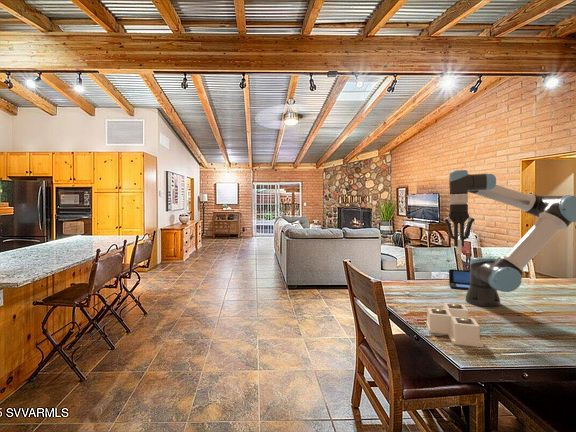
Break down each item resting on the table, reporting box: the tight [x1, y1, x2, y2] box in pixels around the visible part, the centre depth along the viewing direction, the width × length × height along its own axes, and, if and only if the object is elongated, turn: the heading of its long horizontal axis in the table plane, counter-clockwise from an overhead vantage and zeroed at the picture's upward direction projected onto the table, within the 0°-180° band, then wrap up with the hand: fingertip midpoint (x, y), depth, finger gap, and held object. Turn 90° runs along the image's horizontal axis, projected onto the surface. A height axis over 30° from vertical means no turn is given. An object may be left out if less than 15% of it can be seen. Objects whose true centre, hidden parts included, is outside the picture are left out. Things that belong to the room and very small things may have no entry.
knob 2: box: [458, 317, 471, 324], centre depth 119 cm, size 4×4×6 cm
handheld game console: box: [448, 268, 470, 291], centre depth 191 cm, size 16×13×9 cm
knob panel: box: [425, 302, 484, 348], centre depth 128 cm, size 17×27×7 cm, turn 163°
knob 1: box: [450, 303, 461, 309], centre depth 135 cm, size 4×4×6 cm
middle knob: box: [433, 307, 445, 314], centre depth 129 cm, size 4×4×6 cm
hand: (459, 253), depth 148 cm, fingers closed
